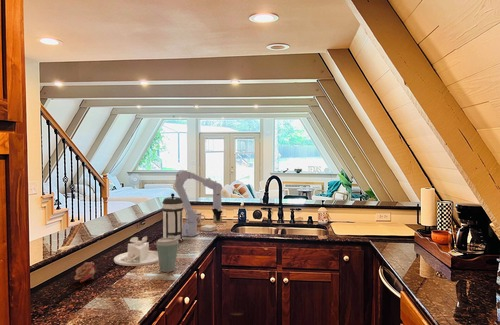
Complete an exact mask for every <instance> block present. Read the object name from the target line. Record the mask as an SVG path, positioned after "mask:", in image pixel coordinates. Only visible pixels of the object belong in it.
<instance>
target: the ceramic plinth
mask: <svg viewBox="0 0 500 325" xmlns="http://www.w3.org/2000/svg"><path fill="white" fill-rule="evenodd" d="M216 230H217V225H212V224H205V225H202V226H200V231H201V232H202V231H203V232H213V231H216Z"/></svg>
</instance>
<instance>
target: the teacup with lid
mask: <svg viewBox="0 0 500 325" xmlns="http://www.w3.org/2000/svg"><path fill="white" fill-rule="evenodd" d="M193 210H194V212H195V213H196V214H197V227H198V226H201V225H202V222H204V221H205V220H206V215H204V214H202V212H201V211H199V210H197V209H193ZM202 217H203V219H202Z"/></svg>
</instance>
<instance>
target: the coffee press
mask: <svg viewBox="0 0 500 325" xmlns="http://www.w3.org/2000/svg"><path fill="white" fill-rule="evenodd" d="M170 194H171V195H170V197H165V198H164V199H163V200H162V202H161V203H162V238H168V237H176V238H177V240H178V241H179V242H180V243H183V242H184V238H183V225H184V223H183V221H184V220H183V219H184V218H183V217H184V216H183V214H184V213H183V212H184V206H183V201H182V199H181V198H180V197H179V196H175V194H174V193H170Z"/></svg>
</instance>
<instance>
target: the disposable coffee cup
mask: <svg viewBox="0 0 500 325" xmlns="http://www.w3.org/2000/svg"><path fill="white" fill-rule="evenodd" d="M179 242H180V241H179V240H177V238H176V237H168V238H163V237H162V238H159V239H158V240H157V241H155V245H156V251H157V252H158V258H159V261H158V263H159V270H160V271H161V272H163V273H164V272H166V273H169V272H173V271H174V270H175V267H176V261H177V253H178V247H179V244H180V243H179Z"/></svg>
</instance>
